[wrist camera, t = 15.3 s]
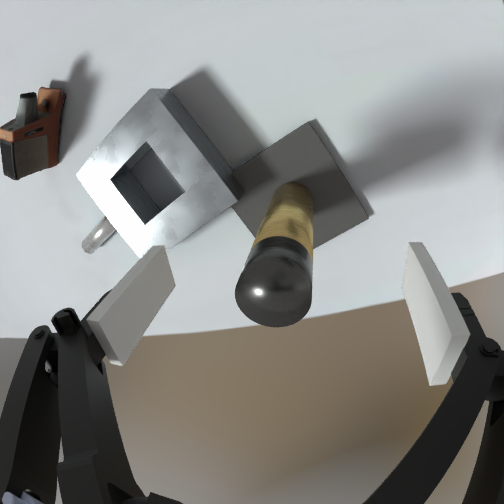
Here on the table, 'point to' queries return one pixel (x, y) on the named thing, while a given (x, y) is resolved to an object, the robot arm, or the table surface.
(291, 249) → the gold and black cylinder
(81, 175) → the block
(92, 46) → the table surface
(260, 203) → the pad
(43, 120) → the electronic device
